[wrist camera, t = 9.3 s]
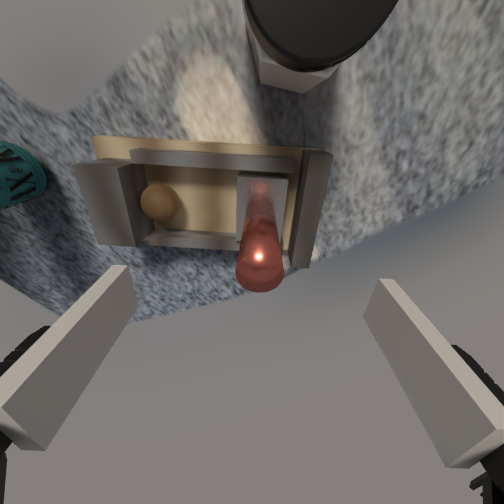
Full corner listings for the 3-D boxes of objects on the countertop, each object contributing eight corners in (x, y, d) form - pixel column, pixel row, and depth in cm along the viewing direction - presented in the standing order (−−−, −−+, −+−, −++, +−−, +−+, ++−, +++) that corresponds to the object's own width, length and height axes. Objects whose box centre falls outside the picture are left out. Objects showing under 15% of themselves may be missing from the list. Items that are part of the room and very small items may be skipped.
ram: (238, 229, 28) (220, 312, 16) (239, 170, 24) (218, 218, 12) (278, 232, 28) (291, 316, 16) (285, 173, 24) (310, 223, 12)
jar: (289, 115, 23) (312, 109, 13) (228, 47, 21) (196, -29, 10) (362, 27, 20) (476, -80, 9) (300, -68, 17) (360, -357, 7)
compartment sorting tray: (127, 233, 31) (94, 259, 25) (103, 135, 25) (52, 139, 19) (300, 243, 31) (310, 273, 25) (318, 148, 25) (336, 156, 19)
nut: (158, 211, 27) (136, 223, 24) (153, 178, 25) (127, 186, 22) (188, 216, 27) (169, 229, 23) (185, 182, 25) (163, 191, 21)
